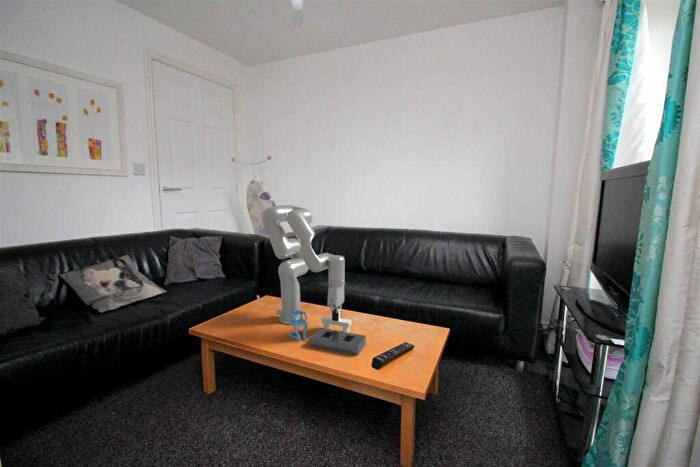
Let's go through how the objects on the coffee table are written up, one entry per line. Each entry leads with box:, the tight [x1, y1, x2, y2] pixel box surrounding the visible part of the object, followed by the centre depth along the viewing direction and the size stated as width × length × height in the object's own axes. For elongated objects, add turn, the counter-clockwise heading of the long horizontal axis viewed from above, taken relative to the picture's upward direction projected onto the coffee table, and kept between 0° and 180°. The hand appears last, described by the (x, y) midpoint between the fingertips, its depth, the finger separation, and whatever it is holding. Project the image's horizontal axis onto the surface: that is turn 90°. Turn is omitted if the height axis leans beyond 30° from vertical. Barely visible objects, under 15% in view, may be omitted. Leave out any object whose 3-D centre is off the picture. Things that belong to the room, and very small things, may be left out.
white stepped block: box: [321, 308, 353, 333], centre depth 153 cm, size 14×4×10 cm, turn 69°
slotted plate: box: [309, 327, 367, 356], centre depth 139 cm, size 22×10×4 cm, turn 69°
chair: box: [287, 310, 309, 342], centre depth 147 cm, size 8×8×12 cm
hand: (336, 318), depth 153 cm, fingers closed on white stepped block, 2 cm apart
